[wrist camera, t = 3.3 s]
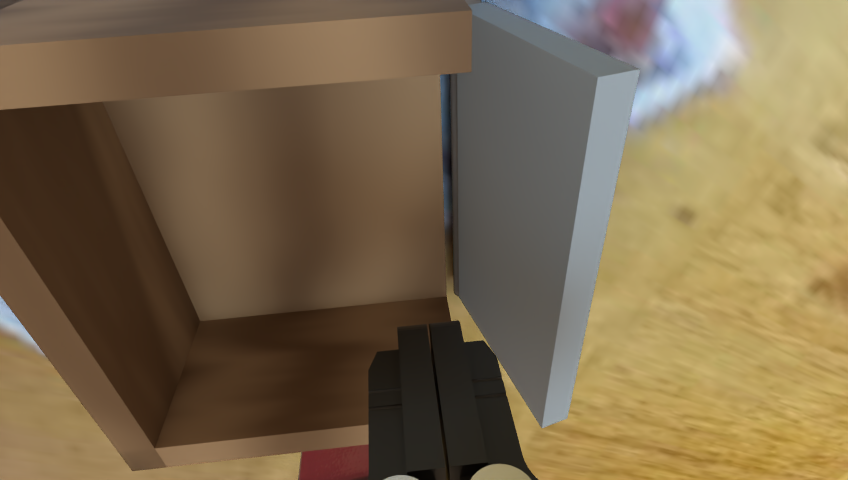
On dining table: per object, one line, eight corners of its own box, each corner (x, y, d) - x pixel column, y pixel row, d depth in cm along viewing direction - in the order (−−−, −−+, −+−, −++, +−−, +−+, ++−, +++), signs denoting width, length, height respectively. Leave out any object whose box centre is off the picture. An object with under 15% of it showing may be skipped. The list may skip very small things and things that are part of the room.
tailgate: (450, 286, 23) (541, 431, 17) (444, -7, 16) (599, 67, 10) (470, 280, 24) (566, 421, 18) (472, -11, 16) (641, 59, 10)
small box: (409, 415, 30) (421, 561, 24) (343, 434, 31) (337, 581, 24) (378, 364, 27) (382, 516, 21) (305, 386, 28) (287, 541, 21)
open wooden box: (190, 318, 24) (132, 471, 18) (35, -19, 15) (-178, 58, 9) (442, 293, 24) (468, 432, 18) (431, -46, 16) (471, 10, 10)
